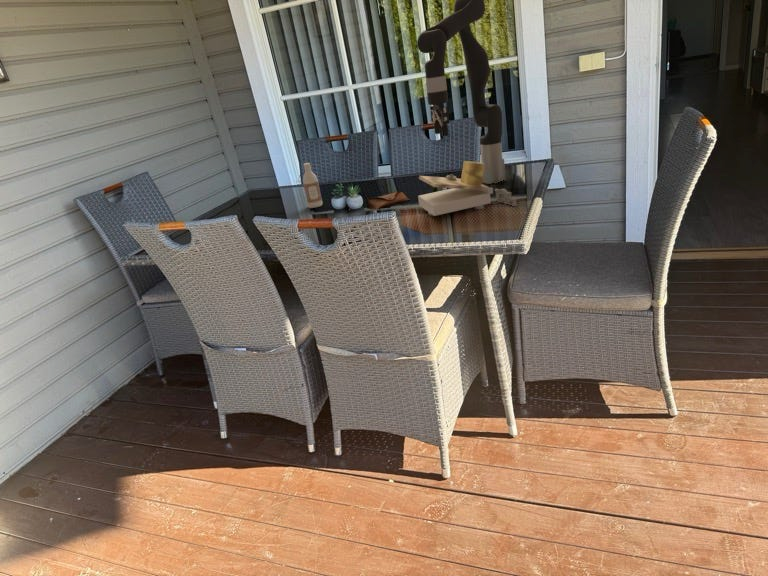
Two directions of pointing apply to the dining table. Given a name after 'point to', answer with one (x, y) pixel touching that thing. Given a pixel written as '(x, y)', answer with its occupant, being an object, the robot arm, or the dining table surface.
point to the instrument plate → (468, 180)
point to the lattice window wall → (505, 197)
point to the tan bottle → (311, 187)
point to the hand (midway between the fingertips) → (441, 134)
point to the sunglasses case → (386, 200)
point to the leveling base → (454, 200)
